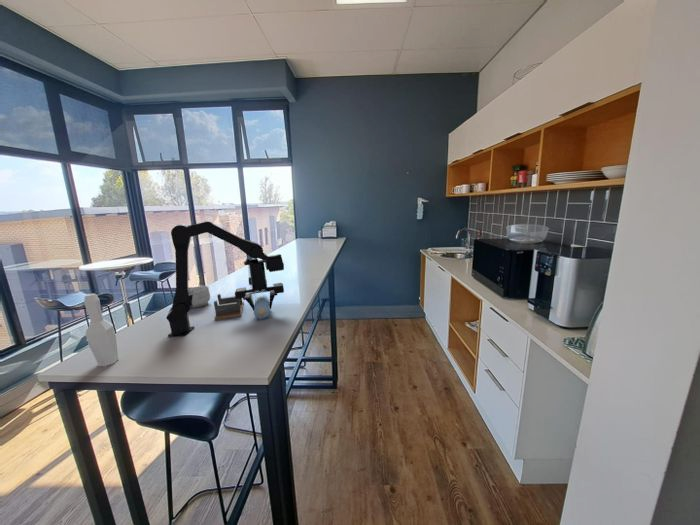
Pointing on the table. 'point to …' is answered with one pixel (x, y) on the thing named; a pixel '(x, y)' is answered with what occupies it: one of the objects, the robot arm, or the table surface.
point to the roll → (262, 306)
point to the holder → (228, 307)
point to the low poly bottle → (100, 333)
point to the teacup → (200, 296)
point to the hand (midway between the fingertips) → (262, 310)
